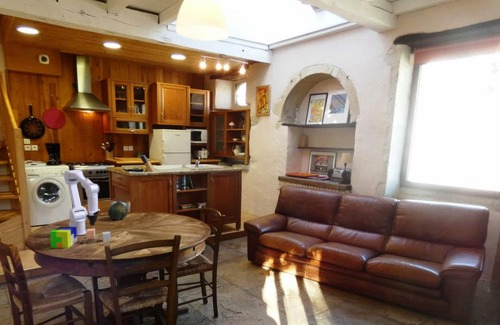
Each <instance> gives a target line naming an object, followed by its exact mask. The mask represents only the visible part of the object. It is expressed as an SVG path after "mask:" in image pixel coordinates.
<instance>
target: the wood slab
mask: <svg viewBox="0 0 500 325" xmlns="http://www.w3.org/2000/svg"><path fill="white" fill-rule="evenodd" d="M98 240H99V235H96V234H95V238H91V239H86V236H85V237H84V238H83V240H82V242H83V245H85V243H87V244H96V243H97V242H98Z"/></svg>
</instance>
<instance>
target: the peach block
mask: <svg viewBox="0 0 500 325" xmlns="http://www.w3.org/2000/svg"><path fill="white" fill-rule="evenodd" d="M85 231H86V234H85V237H86V239H91V238H95V235H96V228H86V229H85Z"/></svg>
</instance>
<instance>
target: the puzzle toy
mask: <svg viewBox="0 0 500 325" xmlns="http://www.w3.org/2000/svg"><path fill="white" fill-rule="evenodd" d="M76 243H78V235H77V227H69V226H59V227H57V228H55V229H53V230H50V247H51V249H56V248H57V249H59V248H60V249H64V248H65V249H66V248H67V249H68V248H70V247H72V246H73V245H75V244H76Z"/></svg>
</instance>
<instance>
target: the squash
mask: <svg viewBox="0 0 500 325" xmlns="http://www.w3.org/2000/svg"><path fill="white" fill-rule="evenodd" d="M128 213H129V210H128V208H127V206H126V205H125V204H124V203H123V202H122V201H121V200H117V201H116V202H114V203H112V204H111V205H110V206H109V208H108V211H107V215H108V217H109V219H111V220H116V221H119V220H123V219H124V218H126V217H127V216H128Z"/></svg>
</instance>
